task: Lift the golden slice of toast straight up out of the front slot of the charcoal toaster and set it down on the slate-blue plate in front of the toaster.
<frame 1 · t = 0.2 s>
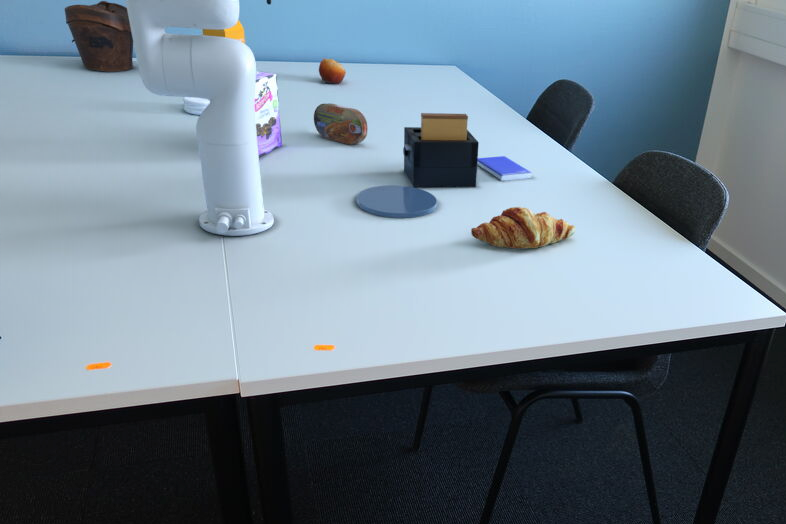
hand: (244, 1, 156), 31 cm above the table, tool pointing down, fingers open, 9 cm apart
fruit: (332, 83, 235), on the table
blue book: (503, 172, 178), on the table
candy box: (256, 152, 171), on the table
plate: (397, 203, 153), on the table
croissant: (524, 243, 142), on the table
white round container: (205, 111, 194), on the table
toaster: (439, 179, 168), on the table
toast: (442, 163, 163), point 4 cm above the table, touching toaster
tin: (341, 141, 185), on the table
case: (109, 68, 222), on the table
orange juice: (229, 80, 224), on the table
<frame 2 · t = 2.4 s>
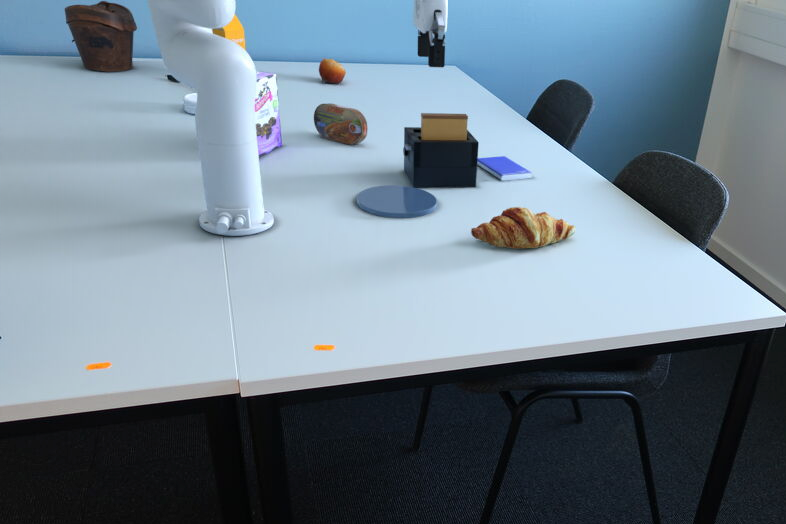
hand: (430, 61, 153), 25 cm above the table, tool pointing down, fingers open, 9 cm apart
nothing on the table moved.
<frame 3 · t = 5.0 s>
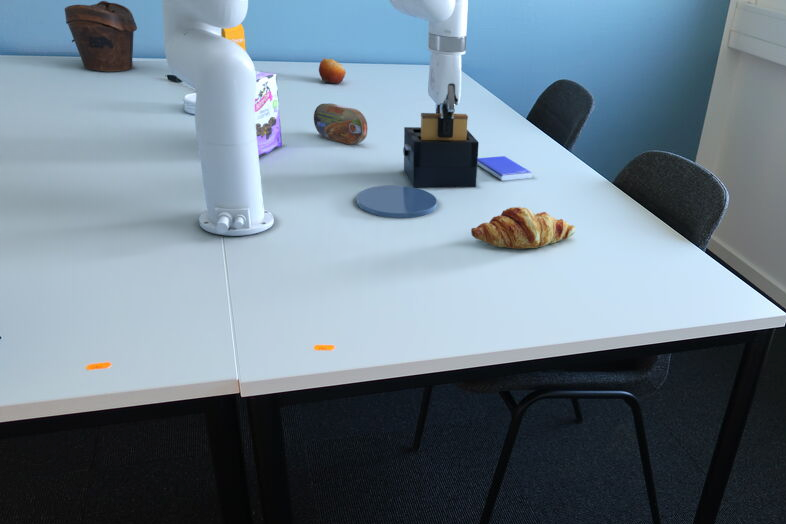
hand: (443, 134, 160), 11 cm above the table, tool pointing down, fingers closed on toast, 2 cm apart
toast: (442, 163, 163), point 5 cm above the table, touching gripper
everything else where it was.
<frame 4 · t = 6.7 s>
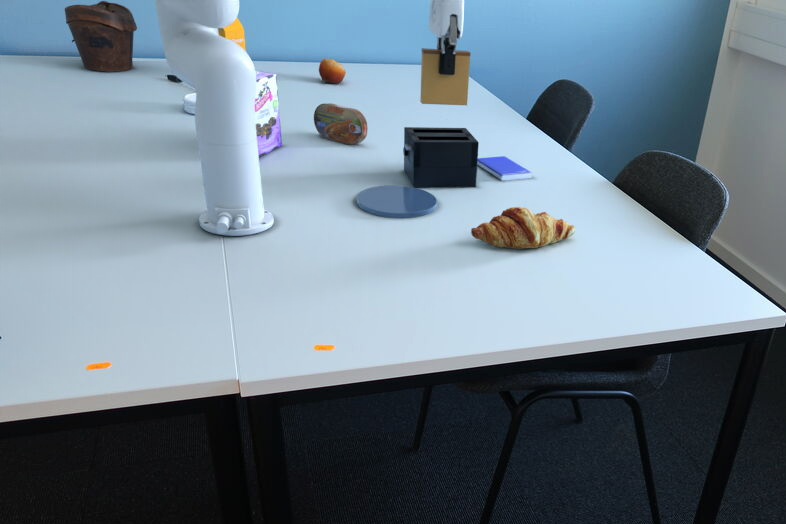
hand: (445, 72, 153), 24 cm above the table, tool pointing down, fingers closed on toast
toast: (443, 103, 156), point 17 cm above the table, touching gripper
everything else where it was.
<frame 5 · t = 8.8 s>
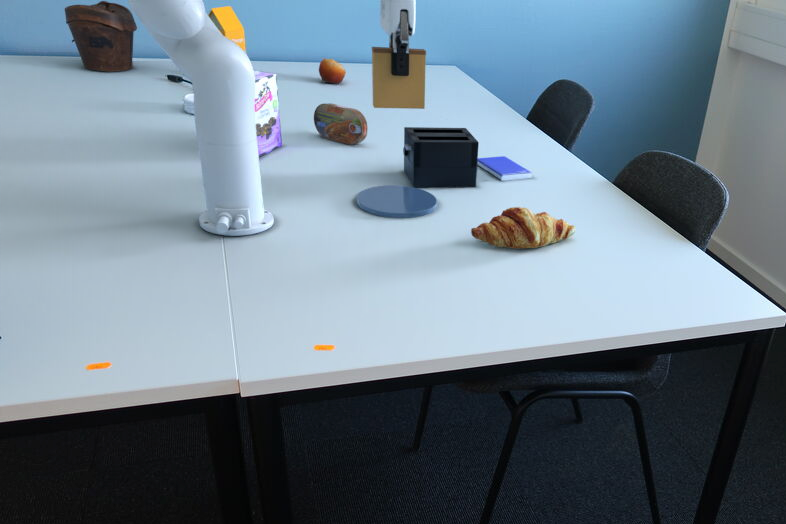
hand: (398, 73, 140), 25 cm above the table, tool pointing down, fingers closed on toast
toast: (398, 107, 143), point 19 cm above the table, touching gripper
everything else where it was.
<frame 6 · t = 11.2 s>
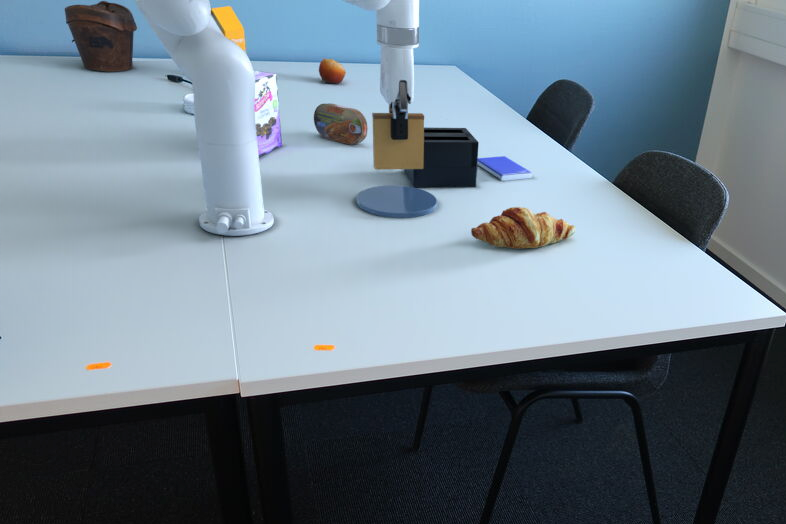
hand: (398, 136, 146), 14 cm above the table, tool pointing down, fingers closed on toast
toast: (398, 167, 149), point 7 cm above the table, touching gripper
everything else where it was.
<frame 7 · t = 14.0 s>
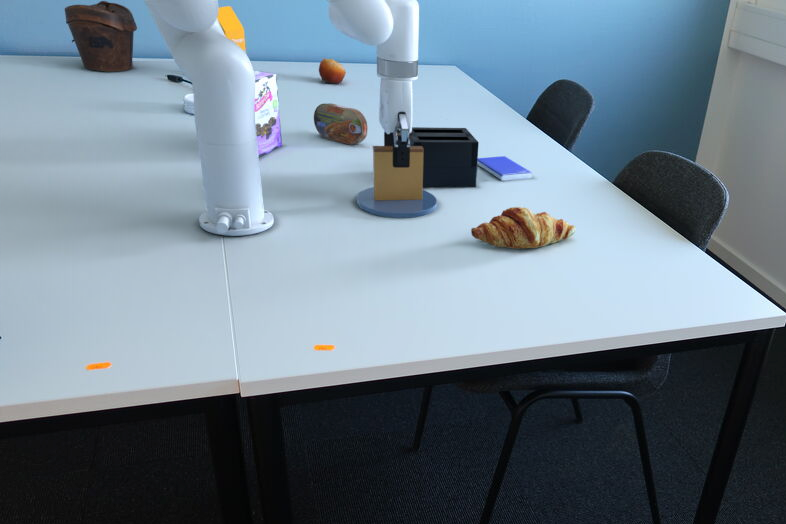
hand: (396, 159, 148), 9 cm above the table, tool pointing down, fingers open, 9 cm apart
toast: (398, 198, 152), point 1 cm above the table, touching plate
everything else where it was.
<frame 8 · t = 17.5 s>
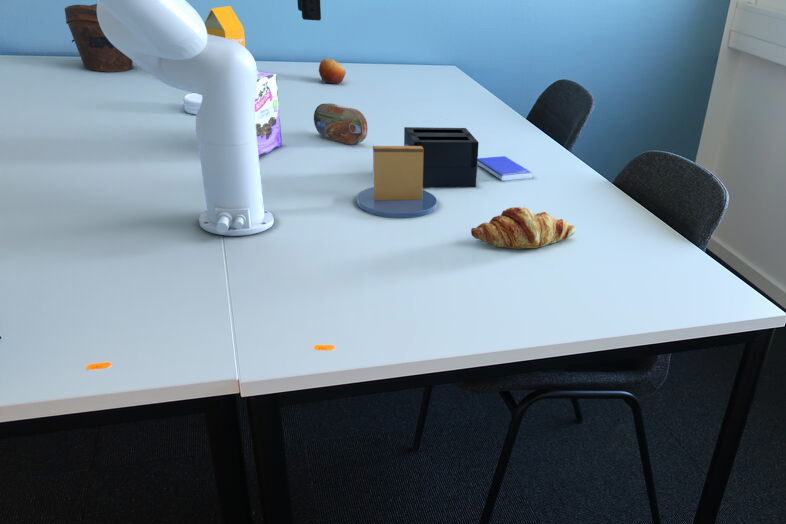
hand: (309, 15, 137), 33 cm above the table, tool pointing down, fingers open, 9 cm apart
nothing on the table moved.
at the end: toast inside the target area on the plate (0.2 cm from its centre), point 1.0 cm above the plate's base; toast touching plate; the gripper is holding nothing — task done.
